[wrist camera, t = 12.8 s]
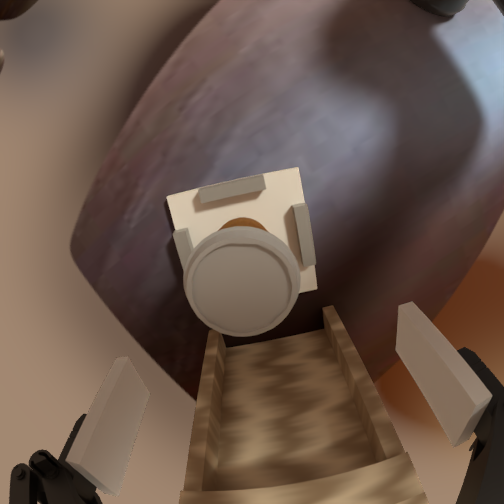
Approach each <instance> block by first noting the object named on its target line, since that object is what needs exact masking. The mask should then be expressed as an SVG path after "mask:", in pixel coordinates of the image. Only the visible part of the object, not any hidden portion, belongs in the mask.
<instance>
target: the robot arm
mask: <svg viewBox="0 0 504 504" xmlns="http://www.w3.org/2000/svg"><path fill="white" fill-rule="evenodd" d="M410 1H412V2H413V3H414V4H416V5H418V6H419V7H421V8H423V9H424V10H426V11H428V12H431V13H433V14H436V15H440V16H451V15H454V14H456V13H458V12H460V11H461V10H463V9H464V7H465V5H466V3H467V2H468V1H469V0H410ZM493 2H494V3H495V4H496V6H497V7H498V9H499V10H500V12H501V13H502V14H503V16H504V0H493ZM396 351H397V353H398V355H399V356H400V358H401V359H402V361H403V362H404V364H405V365H406V367H407V369H408V370H409V372H410V374H411V375H412V376H413V378H414V380H415V382H416V383H417V385H418V387H419V388H420V390H421V391H422V393H423V395H424V397H425V398H426V400H427V402H428V403H429V405H430V407H431V409H432V410H433V412H434V414H435V415H436V417H437V419H438V421H439V423H440V424H441V426H442V428H443V430H444V431H445V433H446V435H447V437H448V439H449V441H450V443H451V444H452V446H453V448H454V447H456V446H458V445H460V444H462V443H463V442H465V441H467V440H469V438H470V437H471V435H472V433H473V432H474V433H475V434H476V436H477V438H476V439H475V441H474V442H473V444H472V445H471V447H470V449H469V451H471V450H472V449H473V452H472V455H471V459H470V463H469V466H468V469H467V473H466V476H465V479H464V482H463V485H462V488H461V491H460V494H459V496H458V499H457V502H456V504H504V387H503V385H502V384H501V383H500V382H499V380H498V379H497V378H496V377H495V376H494V374H493V373H492V372H491V371H490V370H489V368H487V367H486V365H485V364H484V363H483V362H481V359H480V358H479V357H478V356H477V355H476V354H475V352H473V351H471V350H469V349H467V348H466V347H464V348H462V349H459V350H457V351H456V350H455V348H454V347H453V346H452V345H451V344H450V343H449V341H448V340H447V339H446V338H445V337H444V336H443V335H442V334H441V332H440V331H439V330H438V329H437V328H436V327H435V326H434V324H433V323H432V322H431V321H430V320H429V319H428V318H427V317H426V316H425V315H424V313H423V312H422V311H421V310H420V309H419V308H418V307H417V306H416V305H415V304H414V303H413V302H409V303H406V304H403V305H399V309H398V327H397V341H396ZM149 397H150V393H149V391H148V390H147V388H146V386H145V384H144V383H143V381H142V379H141V377H140V376H139V374H138V372H137V370H136V369H135V367H134V365H133V363H132V361H131V360H130V358H129V356H128V357H117V358H116V359H115V361H114V363H113V365H112V367H111V368H110V371H109V372H108V374H107V376H106V378H105V380H104V382H103V384H102V385H101V387H100V390H99V391H98V393H97V395H96V397H95V399H94V401H93V403H92V405H91V407H90V409H89V411H88V413H87V414H83V415H82V416H81V417H80V418H79V419H78V420H77V421H76V423H75V425H74V428H73V431H71V434H70V438H68V440H67V442H66V444H65V446H64V448H63V451H62V452H61V455H60V457H59V459H58V460H57V459H56V458H55V457H53V456H52V455H51V454H50V453H49V452H48V451H47V450H39V451H37V452H35V453H34V454H33V455H32V456H31V458H30V460H29V466H27V465H26V464H24V463H20V464H18V465H16V466H15V467H14V468H13V470H12V473H11V480H10V497H9V504H37V501H38V502H39V503H40V504H102V502H101V500H100V497H99V496H98V494H97V493H96V492H95V491H96V488H98V489H99V490H101V491H102V492H103V493H105V494H109V495H114V496H119V493H120V490H121V486H122V483H123V479H124V476H125V472H126V469H127V466H128V462H129V459H130V456H131V452H132V449H133V446H134V443H135V440H136V436H137V433H138V430H139V427H140V423H141V421H142V417H143V415H144V411H145V409H146V406H147V403H148V400H149ZM473 447H474V448H473ZM32 469H33V470H32Z"/></svg>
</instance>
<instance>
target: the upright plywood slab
mask: <svg viewBox="0 0 504 504" xmlns="http://www.w3.org/2000/svg"><path fill="white" fill-rule="evenodd" d="M322 310H323V319H324V329H321V330H316V331H312V332H308V333H303V334H298V335H294V336H289V337H284V338H279V339H274V340H269V341H264V342H258V343H253V344H247V345H241V346H235V347H229V348H226V346H225V343H224V340H223V337H222V334H221V333H220V332H218V331H216V330H214V329H212V330H209V333H208V339H207V344H206V350H205V356H204V361H203V367H202V373H201V379H200V385H199V391H198V397H197V403H196V409H195V415H194V421H193V428H192V434H191V441H190V448H189V454H188V462H187V468H186V475H185V483H184V490H183V491H180V499H179V504H429V502H428V499H427V497H426V494H425V492H424V490H423V487H422V485H421V482H420V480H419V478H418V475H417V473H416V470H415V468H414V466H413V464H412V461H411V459H410V457H409V454H408V452H406V453H405V451H404V449H403V446H402V444H401V442H400V440H399V438H398V435H397V433H396V431H395V429H394V426H393V424H392V422H391V420H390V418H389V416H388V414H387V411H386V409H385V407H384V405H383V403H382V401H381V399H380V397H379V395H378V393H377V391H376V388H375V386H374V384H373V382H372V380H371V378H370V376H369V374H368V372H367V370H366V368H365V366H364V364H363V362H362V360H361V358H360V356H359V354H358V352H357V350H356V348H355V346H354V344H353V342H352V341H351V339H350V337H349V335H348V333H347V331H346V329H345V327H344V325H343V323H342V321H341V319H340V318H339V316H338V314H337V312H336V310H335V308H334V306H333V305H332V306H328V307H323V308H322Z"/></svg>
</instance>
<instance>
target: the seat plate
mask: <svg viewBox="0 0 504 504" xmlns="http://www.w3.org/2000/svg"><path fill="white" fill-rule="evenodd" d="M167 201H168V205H169V208H170V212H171V216H172V219H173V223H174V227H175V231H174V233H173V237H174V241H175V244H176V248H177V251H178V254H179V258H180V261H181V264H182V267H183V271H184V268H185V265H186V263H187V260H188V257H189V256H190V254H191V252H192V251H193V249H194V248H195V247H196V246H197V245H198V244H199V243H200V242H201V241H202V240H203V239H204V238H206V237H207V236H209V235H210V234H212V233H214V232H216V231H218V230H219V229H220V228H221V227H222V226H223V225H224V224H225V223H227V222H228V221H230V220H232V219H235V218H239V217H246V218H251V219H254V220H256V221H258V222H259V223H260V224H262V225H263V226H264V227H265V229H266V230H267V231H268V232H269V233H271V234H273V235H275V236H276V237H277V238H279V239H280V240H282V241H283V242H284V243H285V244H286V245H287V246H288V248H289V249H290V250H291V251H292V253H293V254H294V256H295V258H296V261H297V263H298V266H299V270H300V276H301V281H300V290H299V293H302V292H307V291H311V290H316V289H317V281H316V274H315V266H314V265H316V258H315V251H314V244H313V237H312V231H311V224H310V218H309V212H308V206H307V204H306V203H305V202H304V196H303V190H302V185H301V180H300V174H299V169H298V167H295V168H289V169H284V170H279V171H273V172H268V173H263V174H258V175H254V176H249V177H244V178H239V179H235V180H230V181H226V182H222V183H217V184H213V185H209V186H205V187H200V188H196V189H192V190H188V191H184V192H181V193H177V194H173V195H169V196H167Z"/></svg>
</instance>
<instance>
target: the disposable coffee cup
mask: <svg viewBox="0 0 504 504" xmlns="http://www.w3.org/2000/svg"><path fill="white" fill-rule="evenodd" d="M300 281H301V276H300V270H299V266H298V263H297V261H296V258H295V256H294V254H293V253H292V251H291V250H290V249H289V248H288V246H287V245H286V244H285V243H284V242H283V241H282V240H280V239H279V238H277V237H276V236H275V235H273V234H271V233H269V232H268V231H267V230H266V229H265V227H264V226H263V225H262V224H260V223H259V222H258V221H256V220H254V219H251V218H246V217H239V218H235V219H232V220H230V221H228V222H227V223H225V224H224V225H223V226H222V227H221V228H220V229H219V230H218V231H216V232H214V233H212V234H210V235H209V236H207V237H206V238H204V239H203V240H202V241H201V242H200V243H199V244H198V245H197V246H196V247H195V248H194V249H193V251H192V252H191V254H190V256H189V257H188V260H187V263H186V265H185V268H184V275H183V283H184V290H185V294H186V297H187V299H188V301H189V303H190V305H191V307H192V309H193V311H194V312H195V314H196V315H197V317H198V318H199V319H201V320H202V321H203V322H204V323H205V324H206V325H207V326H209V327H210V328H212V329H214V330H216V331H218V332H220V333H223V334H227V335H231V336H242V337H248V336H254V335H258V334H261V333H264V332H266V331H268V330H271V329H273V328H274V327H275V326H277V325H278V324H279V323H281V322H282V321H283V320H284V319H285V318H286V316H287V315H288V314H289V312H290V311H291V309H292V307H293V305H294V304H295V302H296V300H297V297H298V294H299V290H300Z"/></svg>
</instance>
